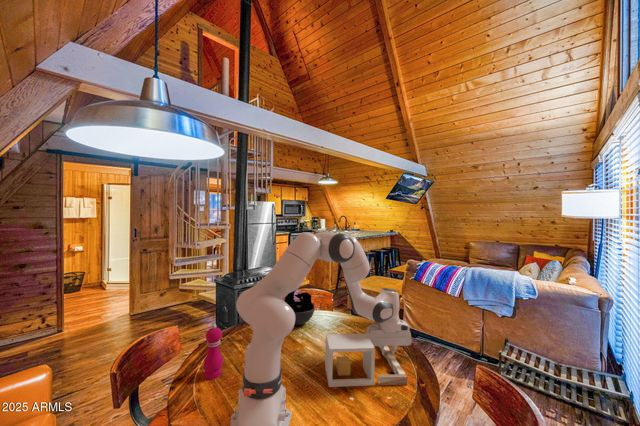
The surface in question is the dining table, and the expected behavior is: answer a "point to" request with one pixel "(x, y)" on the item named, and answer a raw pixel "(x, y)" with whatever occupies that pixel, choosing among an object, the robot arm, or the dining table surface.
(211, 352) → the pepper mill
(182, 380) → the dining table surface
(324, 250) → the robot arm
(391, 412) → the dining table surface
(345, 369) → the ochre cube
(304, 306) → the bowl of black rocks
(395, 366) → the pale grey hook
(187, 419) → the dining table surface
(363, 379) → the cubby
